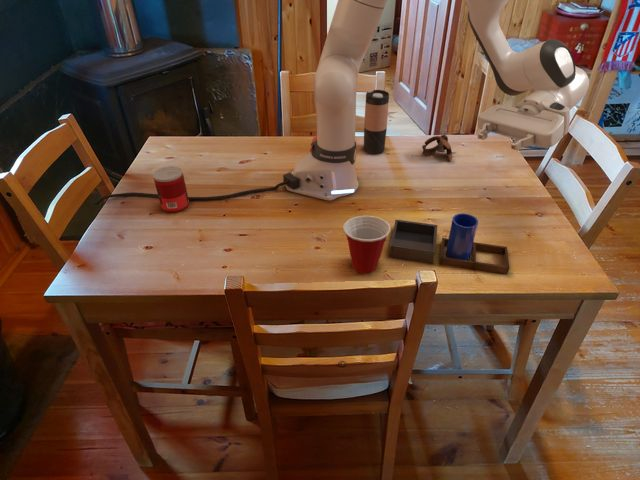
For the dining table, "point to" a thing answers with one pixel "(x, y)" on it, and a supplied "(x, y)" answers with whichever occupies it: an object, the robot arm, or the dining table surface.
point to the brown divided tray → (473, 263)
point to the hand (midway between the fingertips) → (496, 141)
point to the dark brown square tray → (413, 241)
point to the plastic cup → (366, 241)
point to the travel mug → (375, 121)
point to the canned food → (171, 189)
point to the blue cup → (461, 236)
